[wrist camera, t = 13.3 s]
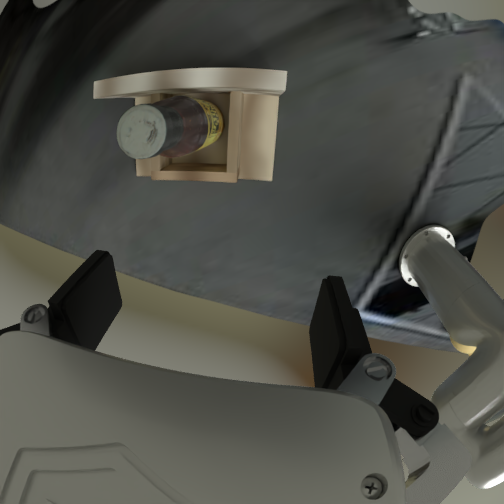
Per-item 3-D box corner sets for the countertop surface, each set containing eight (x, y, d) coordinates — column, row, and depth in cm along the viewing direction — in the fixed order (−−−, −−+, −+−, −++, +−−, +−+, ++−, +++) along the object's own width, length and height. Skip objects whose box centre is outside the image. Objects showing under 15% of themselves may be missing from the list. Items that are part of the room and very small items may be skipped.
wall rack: (279, 82, 32) (287, 71, 21) (271, 179, 38) (274, 208, 28) (138, 84, 32) (94, 81, 21) (139, 174, 39) (99, 201, 28)
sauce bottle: (235, 127, 34) (208, 145, 17) (198, 153, 36) (141, 198, 19) (207, 90, 32) (152, 72, 14) (171, 117, 33) (91, 132, 16)
